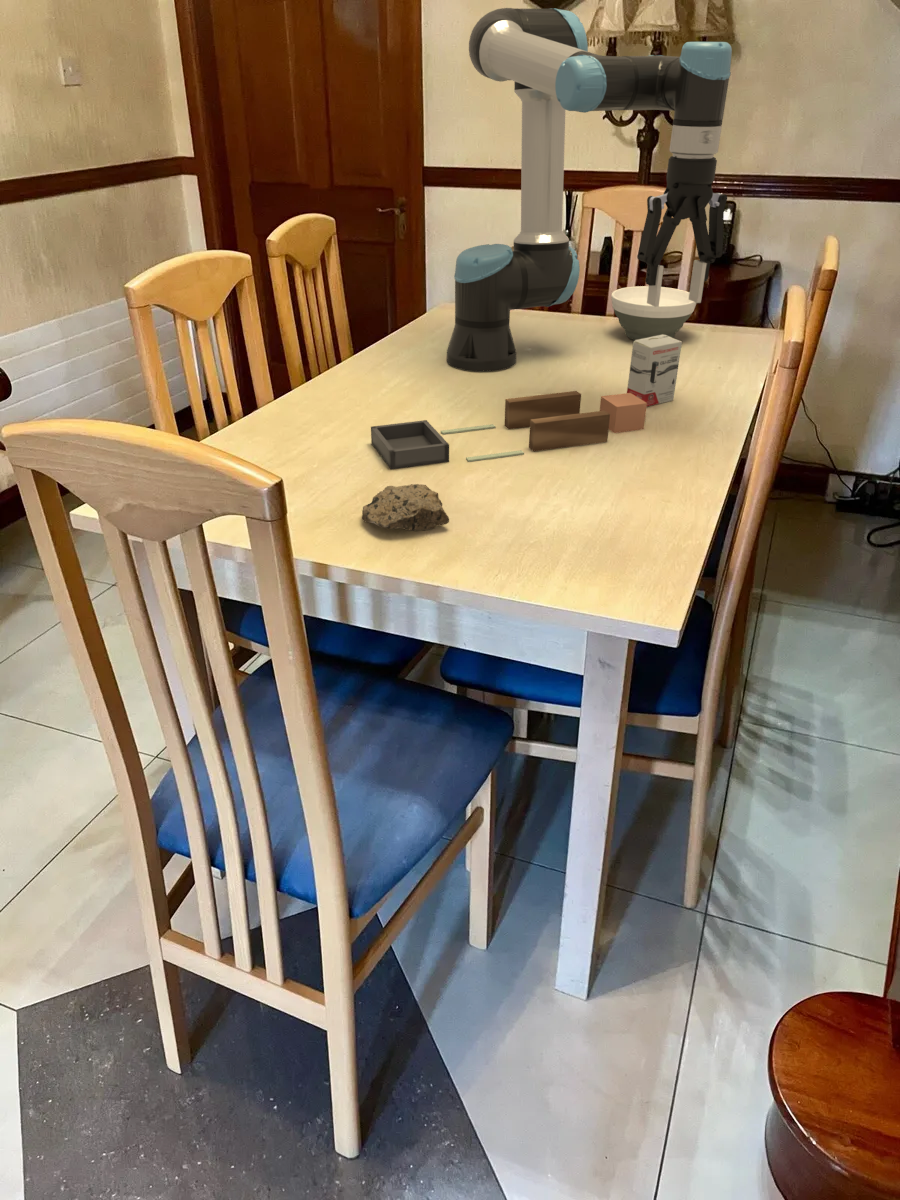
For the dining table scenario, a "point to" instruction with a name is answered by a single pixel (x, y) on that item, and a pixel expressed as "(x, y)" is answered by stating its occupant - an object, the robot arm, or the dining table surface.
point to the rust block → (624, 412)
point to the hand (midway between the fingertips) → (673, 302)
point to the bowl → (651, 311)
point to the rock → (406, 508)
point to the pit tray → (409, 444)
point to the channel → (556, 420)
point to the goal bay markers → (482, 457)
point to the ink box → (654, 369)
